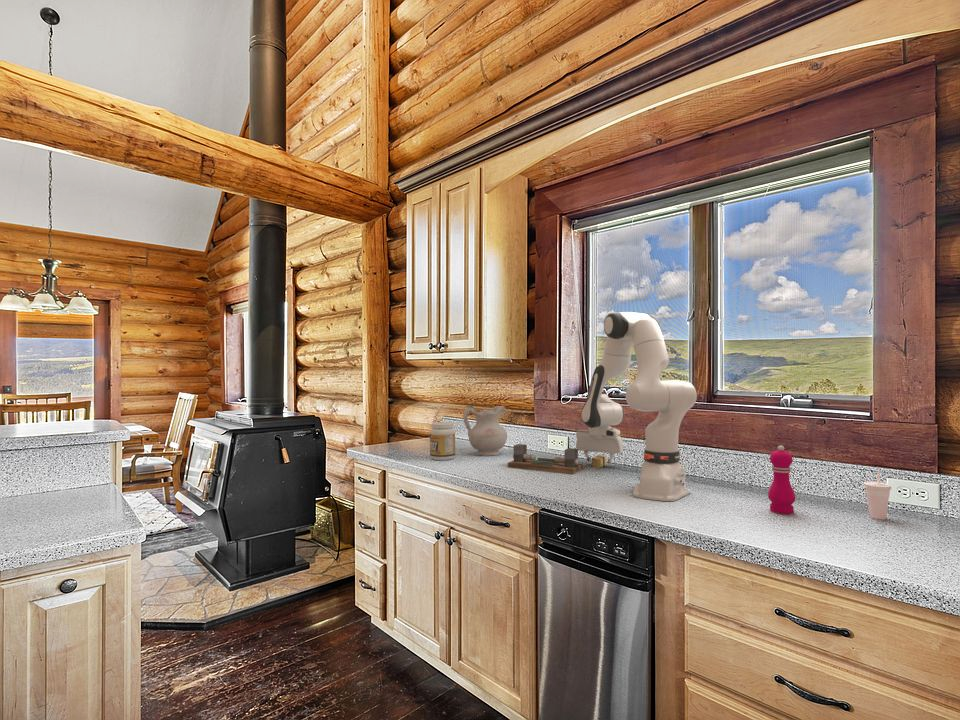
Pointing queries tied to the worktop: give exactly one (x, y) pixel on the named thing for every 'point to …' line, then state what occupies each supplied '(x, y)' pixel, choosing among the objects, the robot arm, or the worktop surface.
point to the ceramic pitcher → (486, 430)
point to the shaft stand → (546, 461)
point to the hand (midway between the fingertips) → (599, 462)
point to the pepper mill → (781, 483)
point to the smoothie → (877, 498)
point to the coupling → (599, 461)
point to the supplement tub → (442, 441)
